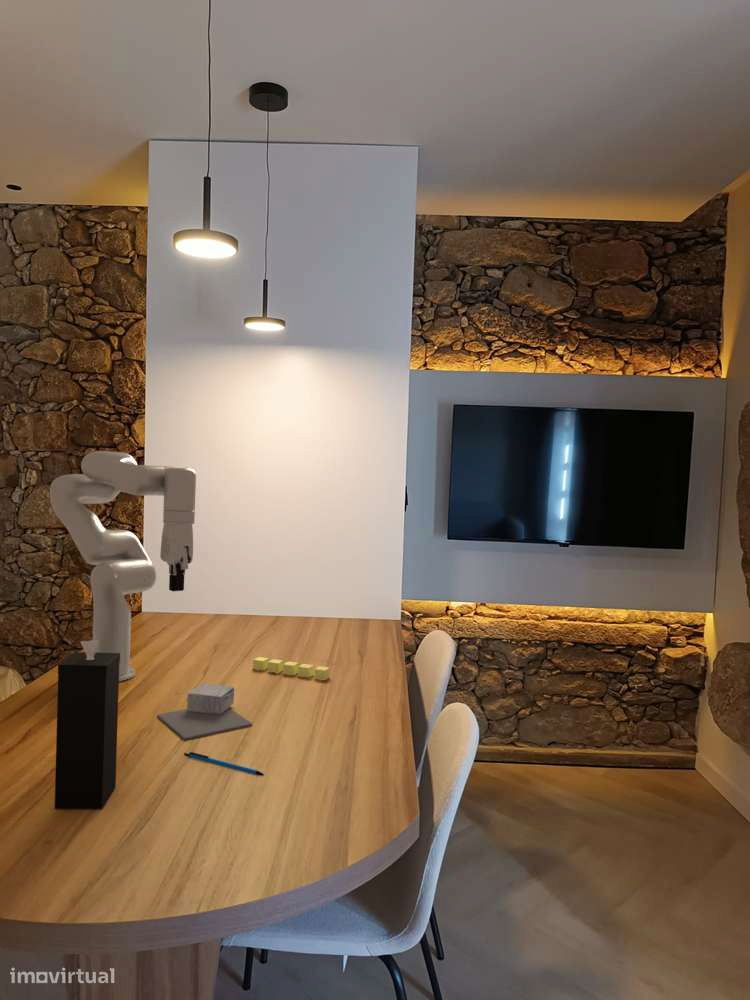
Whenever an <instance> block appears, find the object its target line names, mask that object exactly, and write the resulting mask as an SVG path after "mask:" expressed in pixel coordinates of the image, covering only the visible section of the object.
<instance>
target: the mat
mask: <svg viewBox="0 0 750 1000" xmlns="http://www.w3.org/2000/svg"><path fill="white" fill-rule="evenodd" d="M157 718H158V719H160V721H161V722H163V723H164V724H165V725H166V726H168V727H169V729H171V730H172V731H173V732H175V733H176V734H177V735H178V736H179V737H180V738H181V739H182V740H184V741H188V740H192V739H197V738H202V737H206V736H210V735H215V734H219V733H224V732H229V731H233V730H238V729H243V728H247V727H251V726H253V722H250V721H249V720H248V719H247V718H245V717H243V716H242V715H241V714H239V713H238V712H236V711H235V710H233V709H232V708H230V707H229V708H228V709H227V710H225V711H224V712H223V713H222V714H220V715H219V714H210V713H201V712H192V711H187V708H186V709H179V710H174V711H170V712H163V713H160V714H159V713H158V714H157Z"/></svg>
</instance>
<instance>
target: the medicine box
mask: <svg viewBox="0 0 750 1000" xmlns="http://www.w3.org/2000/svg"><path fill="white" fill-rule="evenodd" d="M234 699H235V687H234V686H231V685H230V686H228V685H222V684H221V685H220V684H212V683H204V682H203V683H201V684H199V685H198V686H197V687H195V688H194V689H193V690H191V691H189V692H188V693H187V701H186V702H187V706H186V709H187V711H192V712H201V713H210V714H219V715H220V714H222V713H223V712H224V711H225V710H227V709H228V708H230V707H231V706H233V705H234V704H235V703H234V701H235V700H234Z"/></svg>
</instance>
